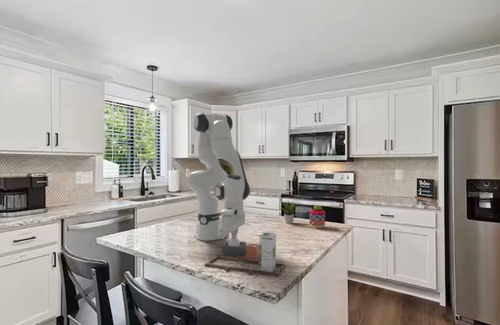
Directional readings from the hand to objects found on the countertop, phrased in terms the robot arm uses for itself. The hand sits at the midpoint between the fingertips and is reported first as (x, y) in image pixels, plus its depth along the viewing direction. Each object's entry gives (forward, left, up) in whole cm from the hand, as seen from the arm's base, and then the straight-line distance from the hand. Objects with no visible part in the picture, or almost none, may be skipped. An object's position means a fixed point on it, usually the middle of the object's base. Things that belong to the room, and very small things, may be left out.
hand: (234, 237), depth 136 cm
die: (+1, +10, -8) cm, 12 cm away
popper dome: (0, 0, -5) cm, 5 cm away
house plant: (-72, +11, -8) cm, 73 cm away
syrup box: (+14, +21, -8) cm, 26 cm away
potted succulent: (-68, +31, -8) cm, 75 cm away
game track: (+14, +11, -8) cm, 19 cm away
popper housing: (0, 0, -8) cm, 8 cm away
